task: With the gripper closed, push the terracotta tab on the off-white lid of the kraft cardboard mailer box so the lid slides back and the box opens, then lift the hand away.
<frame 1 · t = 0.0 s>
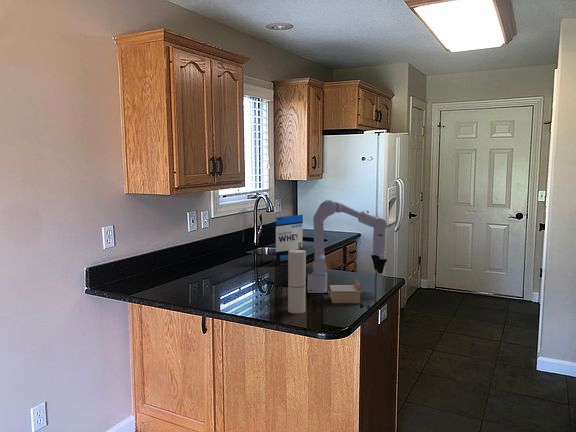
hand: (378, 271, 228), 10 cm above the worktop, tool pointing down, fingers open, 7 cm apart
mailer box: (344, 300, 214), on the worktop
protein powder: (289, 264, 295), on the worktop
cylindrical container: (296, 311, 198), on the worktop
mailer lid: (344, 285, 213), point 7 cm above the worktop, slide at 0.0 cm
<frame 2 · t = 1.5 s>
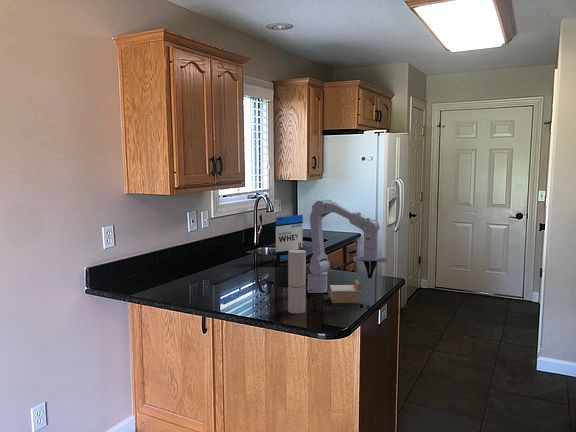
hand: (369, 277, 213), 10 cm above the worktop, tool pointing down, fingers closed
nothing on the worktop moved.
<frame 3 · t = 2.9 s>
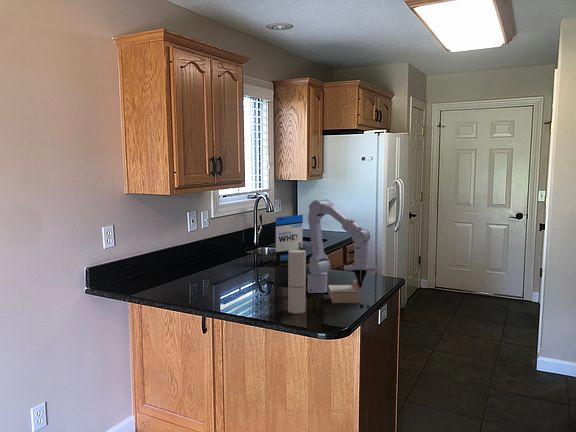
hand: (360, 286, 213), 6 cm above the worktop, tool pointing down, fingers closed
mailer lid: (343, 285, 213), point 7 cm above the worktop, slide at 0.8 cm, touching gripper
everything else where it was.
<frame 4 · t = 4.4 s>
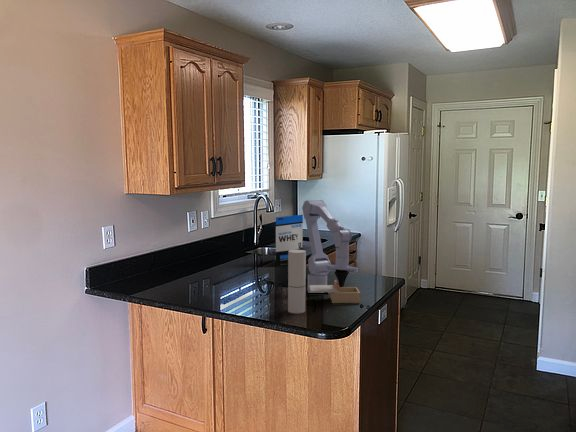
hand: (341, 286, 213), 6 cm above the worktop, tool pointing down, fingers closed
mailer lid: (323, 285, 213), point 7 cm above the worktop, slide at 9.4 cm, touching gripper
everything else where it was.
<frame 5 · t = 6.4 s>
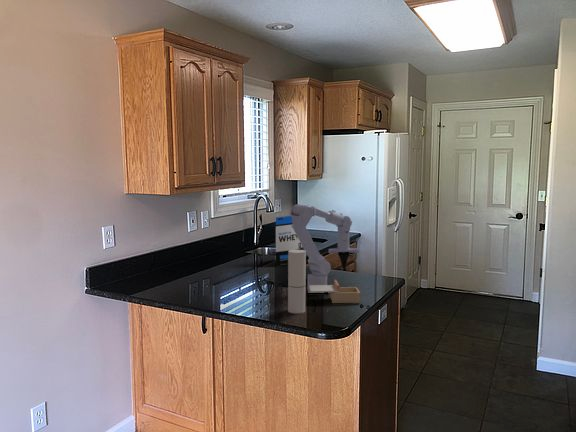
hand: (343, 267, 235), 10 cm above the worktop, tool pointing down, fingers closed
mailer lid: (323, 285, 213), point 7 cm above the worktop, slide at 9.4 cm
everything else where it was.
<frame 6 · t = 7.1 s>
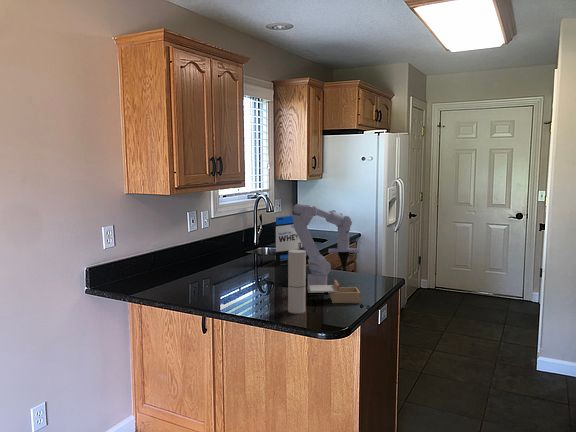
hand: (343, 267, 236), 10 cm above the worktop, tool pointing down, fingers closed
nothing on the worktop moved.
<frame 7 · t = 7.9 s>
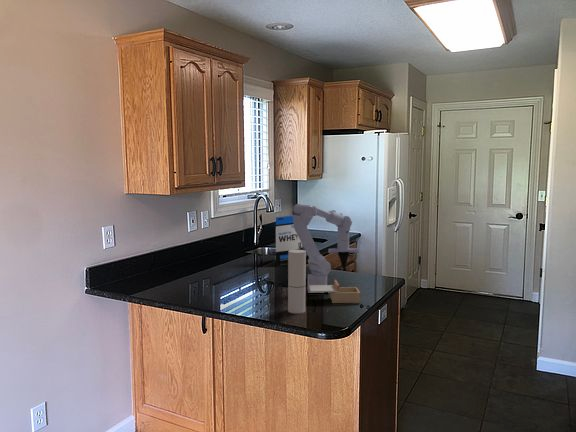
hand: (343, 267, 236), 10 cm above the worktop, tool pointing down, fingers closed
nothing on the worktop moved.
at the end: mailer lid slide at 9.4 cm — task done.
